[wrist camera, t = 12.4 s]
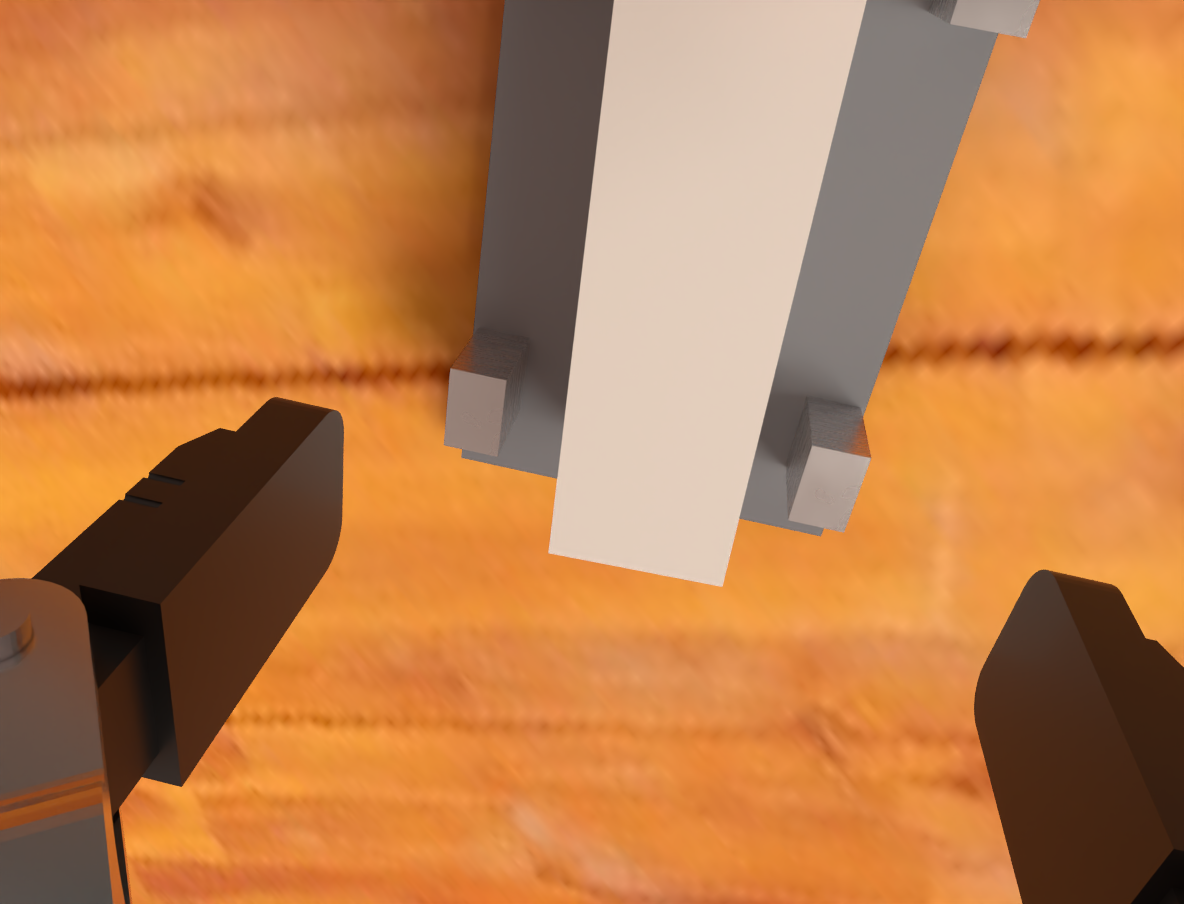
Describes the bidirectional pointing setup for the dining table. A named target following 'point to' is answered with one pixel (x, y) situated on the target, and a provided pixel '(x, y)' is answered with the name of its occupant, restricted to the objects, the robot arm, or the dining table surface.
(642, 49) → the white block with peg
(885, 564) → the dining table surface
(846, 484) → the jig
